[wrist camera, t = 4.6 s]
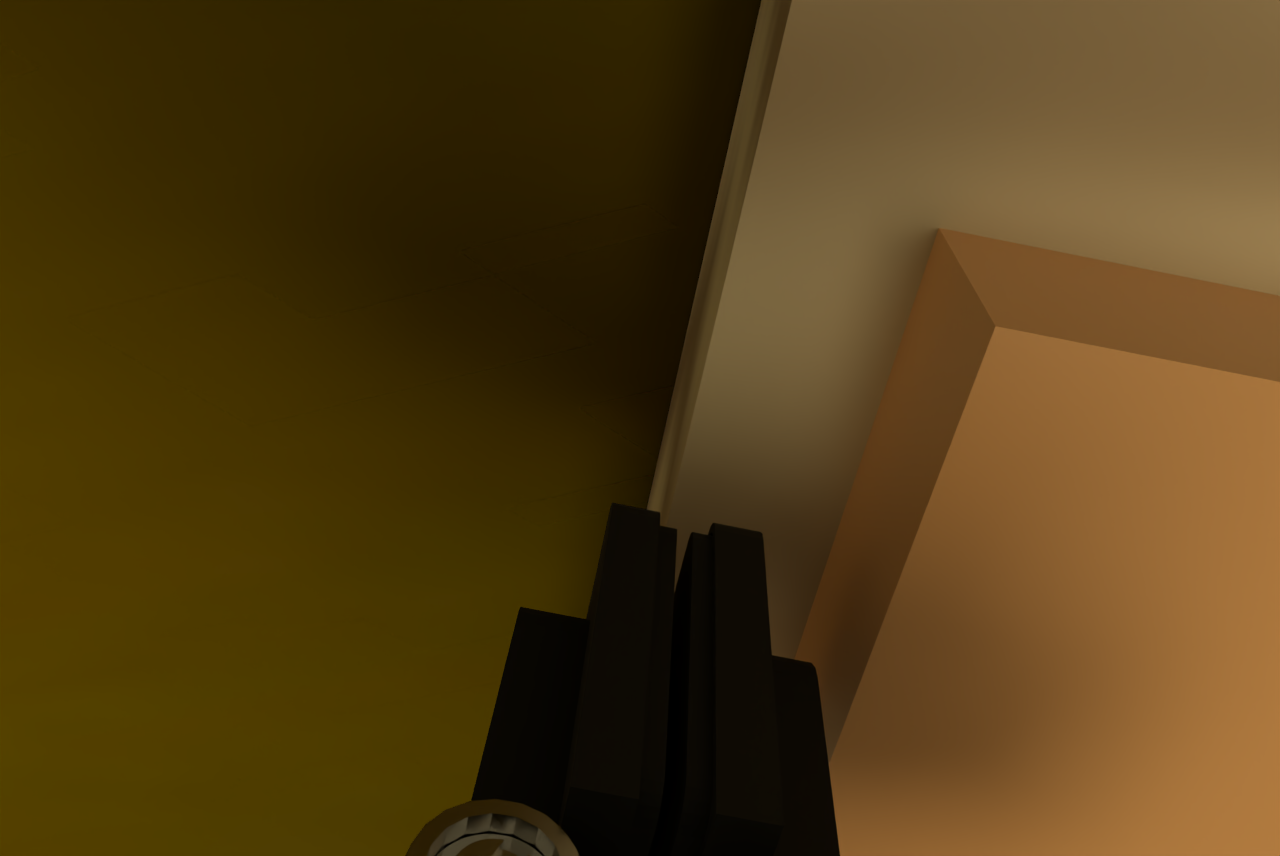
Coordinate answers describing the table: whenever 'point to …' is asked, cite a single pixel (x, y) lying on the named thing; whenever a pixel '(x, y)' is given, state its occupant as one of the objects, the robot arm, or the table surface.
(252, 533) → the table surface
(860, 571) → the orange rectangular block
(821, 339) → the beige brown rectangular block
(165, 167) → the table surface
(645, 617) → the robot arm
